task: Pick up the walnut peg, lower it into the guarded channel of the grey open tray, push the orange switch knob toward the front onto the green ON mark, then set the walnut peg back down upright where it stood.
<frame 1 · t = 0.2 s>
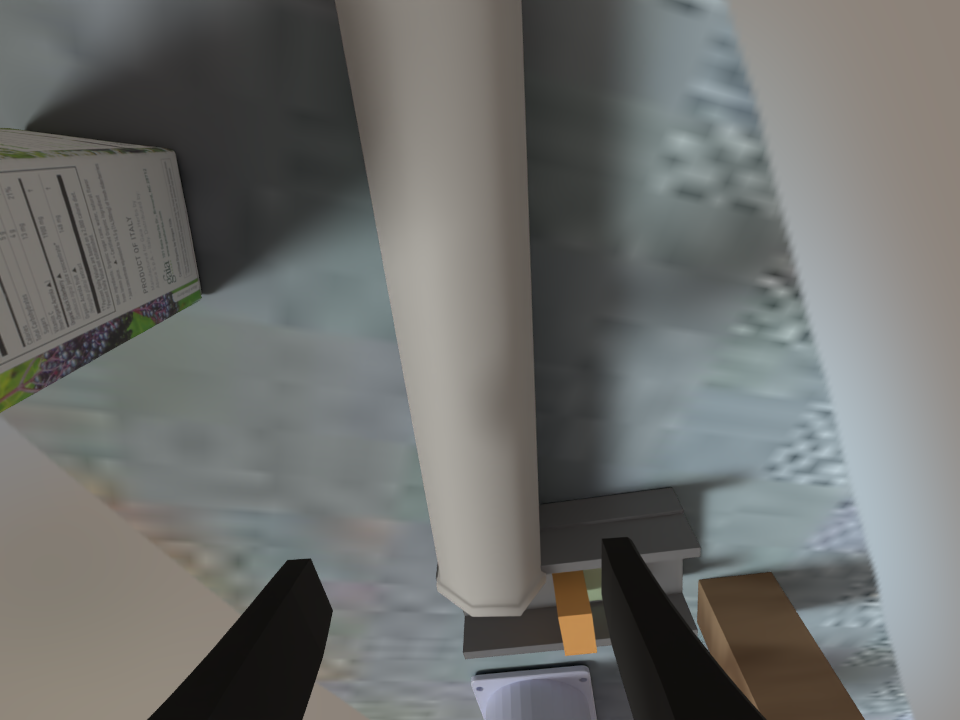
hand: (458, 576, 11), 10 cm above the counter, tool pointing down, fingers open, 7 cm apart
grey open tray: (561, 548, 25), on the counter
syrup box: (122, 216, 17), on the counter
tube: (470, 306, 19), on the counter, touching grey open tray
switch knob: (573, 605, 22), point 3 cm above the counter, slide at 2.1 cm
walnut peg: (732, 598, 27), on the counter
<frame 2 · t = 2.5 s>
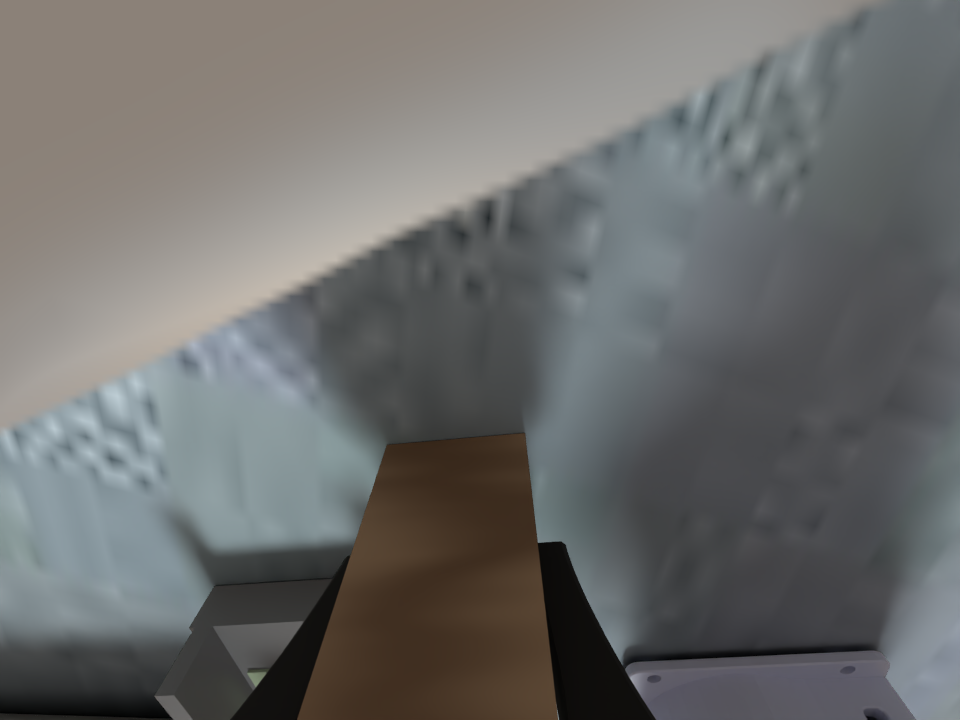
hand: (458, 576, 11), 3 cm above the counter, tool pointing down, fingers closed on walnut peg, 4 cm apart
grey open tray: (351, 676, 18), on the counter
tube: (45, 715, 21), on the counter, touching grey open tray
walnut peg: (464, 491, 14), on the counter, touching gripper
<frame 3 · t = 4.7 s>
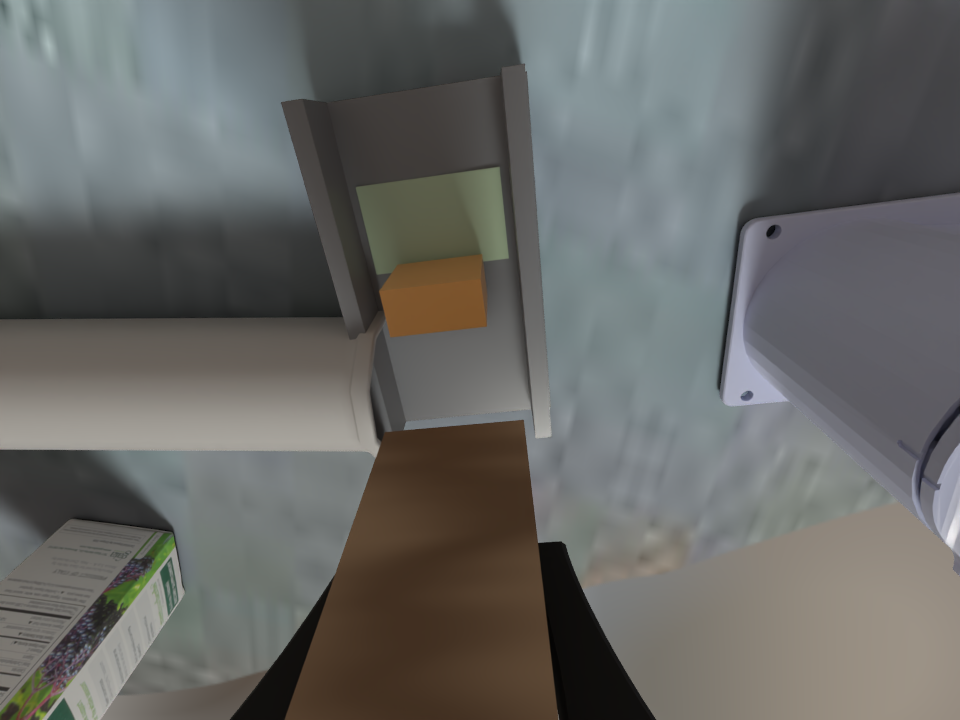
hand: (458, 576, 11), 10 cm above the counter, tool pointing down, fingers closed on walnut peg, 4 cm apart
grey open tray: (448, 267, 18), on the counter
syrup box: (133, 553, 26), on the counter
tube: (121, 354, 20), on the counter, touching grey open tray
switch knob: (438, 293, 15), point 3 cm above the counter, slide at 2.1 cm
walnut peg: (463, 479, 14), point 7 cm above the counter, touching gripper
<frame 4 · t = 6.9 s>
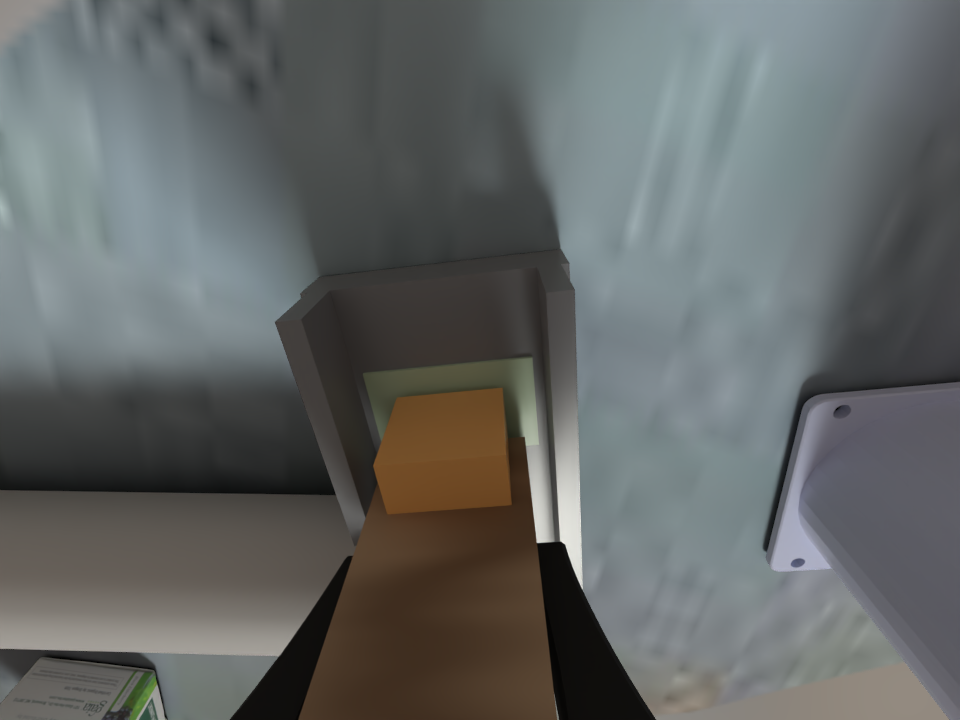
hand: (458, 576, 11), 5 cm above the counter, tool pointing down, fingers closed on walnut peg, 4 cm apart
grey open tray: (465, 433, 16), on the counter
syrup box: (111, 686, 24), on the counter
tube: (94, 507, 18), on the counter, touching grey open tray
switch knob: (449, 446, 12), point 3 cm above the counter, slide at 4.1 cm, touching walnut peg
walnut peg: (465, 495, 14), point 2 cm above the counter, touching gripper, switch knob
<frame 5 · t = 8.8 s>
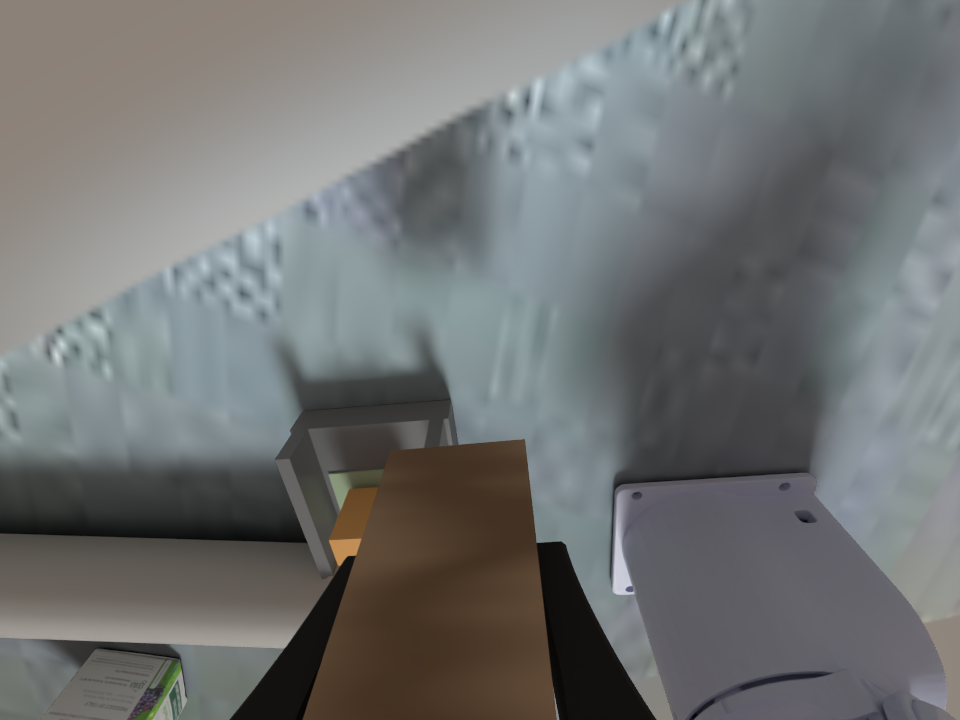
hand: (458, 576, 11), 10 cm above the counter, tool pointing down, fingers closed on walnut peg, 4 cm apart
grey open tray: (400, 502, 23), on the counter
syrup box: (145, 671, 32), on the counter
tube: (146, 544, 25), on the counter, touching grey open tray
switch knob: (377, 523, 20), point 3 cm above the counter, slide at 4.1 cm
walnut peg: (465, 496, 14), point 7 cm above the counter, touching gripper
when the fingers open (4 cm above the counter, at t = 10.6 s): walnut peg stays where it is, on the counter.
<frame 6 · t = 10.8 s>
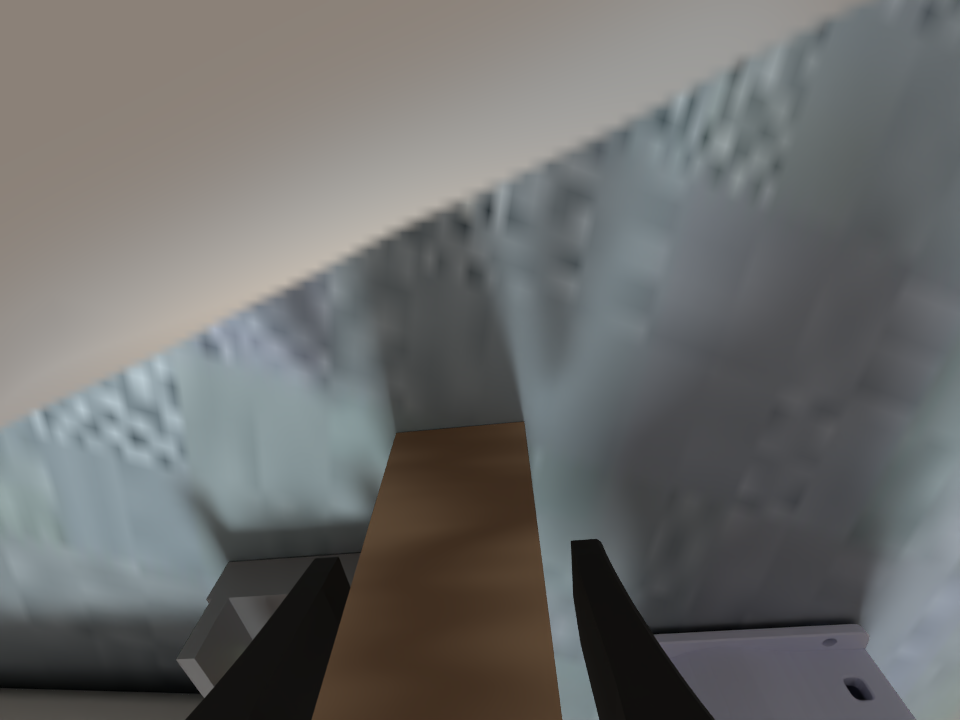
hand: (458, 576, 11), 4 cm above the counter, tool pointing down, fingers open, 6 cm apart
grey open tray: (357, 651, 19), on the counter
tube: (62, 691, 21), on the counter, touching grey open tray
walnut peg: (467, 476, 15), on the counter
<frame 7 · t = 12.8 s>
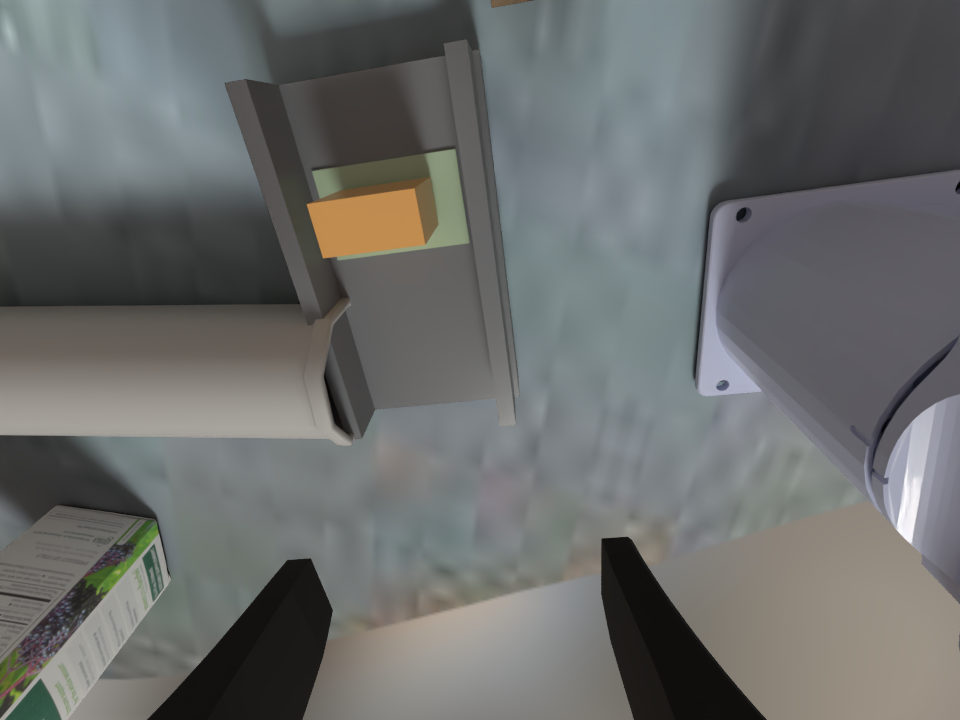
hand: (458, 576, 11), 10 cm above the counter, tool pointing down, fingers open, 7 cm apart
grey open tray: (413, 254, 18), on the counter
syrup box: (119, 540, 27), on the counter
tube: (96, 342, 20), on the counter, touching grey open tray
switch knob: (379, 215, 14), point 3 cm above the counter, slide at 4.1 cm
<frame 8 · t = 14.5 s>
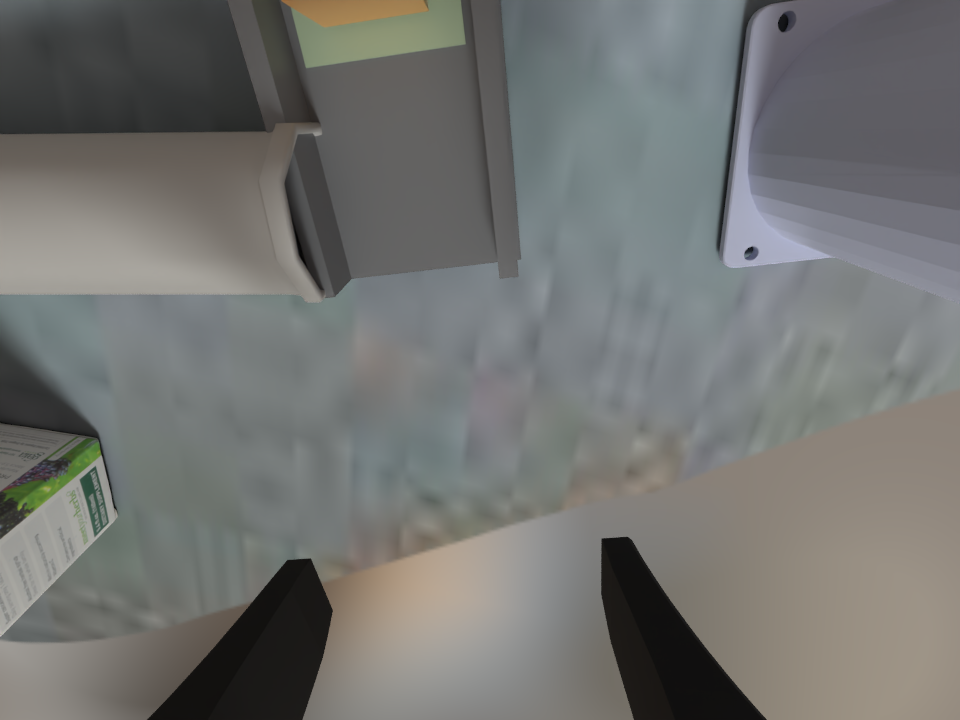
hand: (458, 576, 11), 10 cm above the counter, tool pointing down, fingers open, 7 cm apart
grey open tray: (398, 80, 15), on the counter
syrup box: (56, 467, 23), on the counter
tube: (17, 203, 17), on the counter, touching grey open tray
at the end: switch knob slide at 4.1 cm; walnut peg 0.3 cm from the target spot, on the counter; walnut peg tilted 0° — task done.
